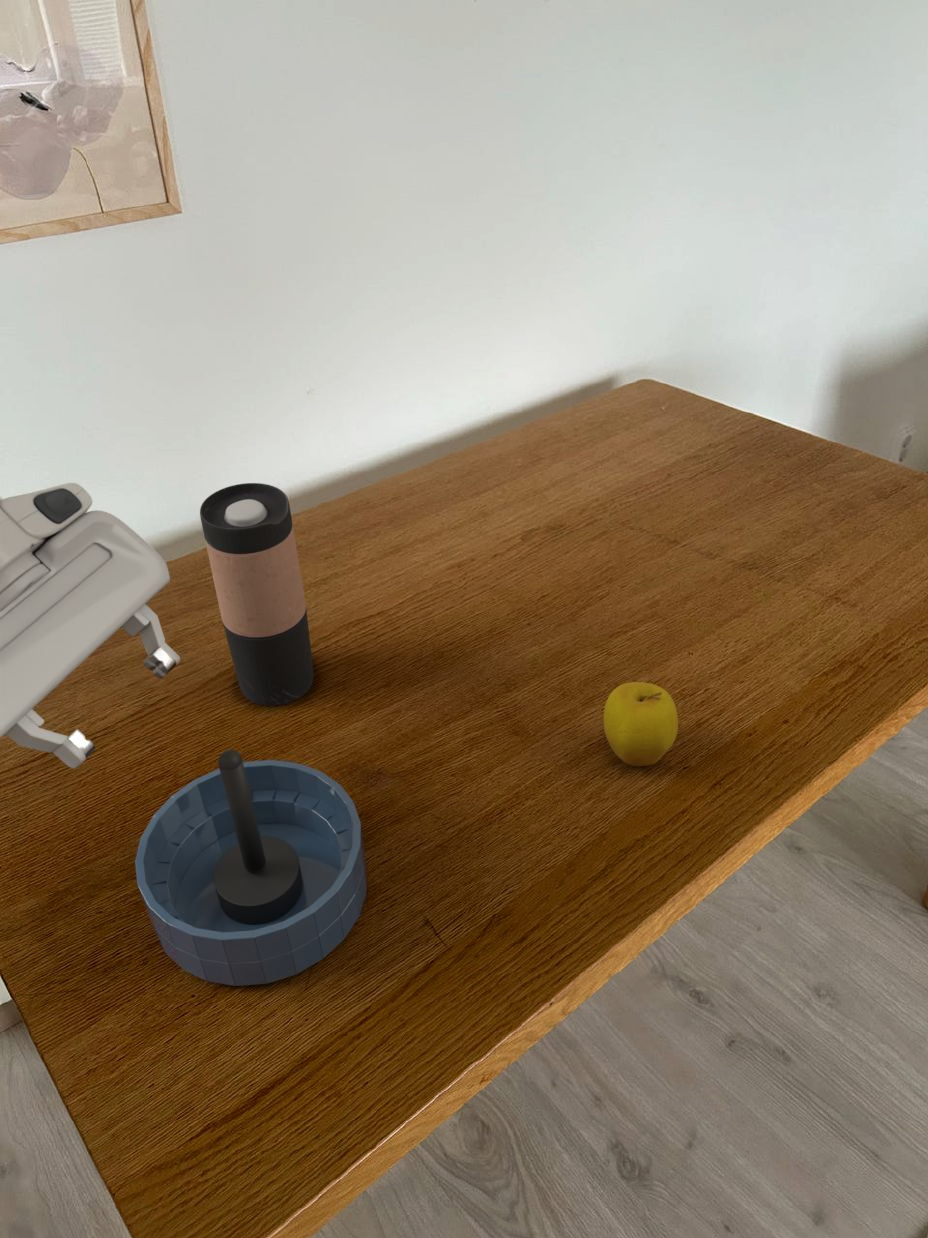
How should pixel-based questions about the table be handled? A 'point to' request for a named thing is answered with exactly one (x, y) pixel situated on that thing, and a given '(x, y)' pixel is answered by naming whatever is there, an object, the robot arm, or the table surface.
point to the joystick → (253, 858)
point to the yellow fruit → (640, 722)
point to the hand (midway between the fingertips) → (130, 712)
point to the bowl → (203, 831)
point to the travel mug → (259, 590)
